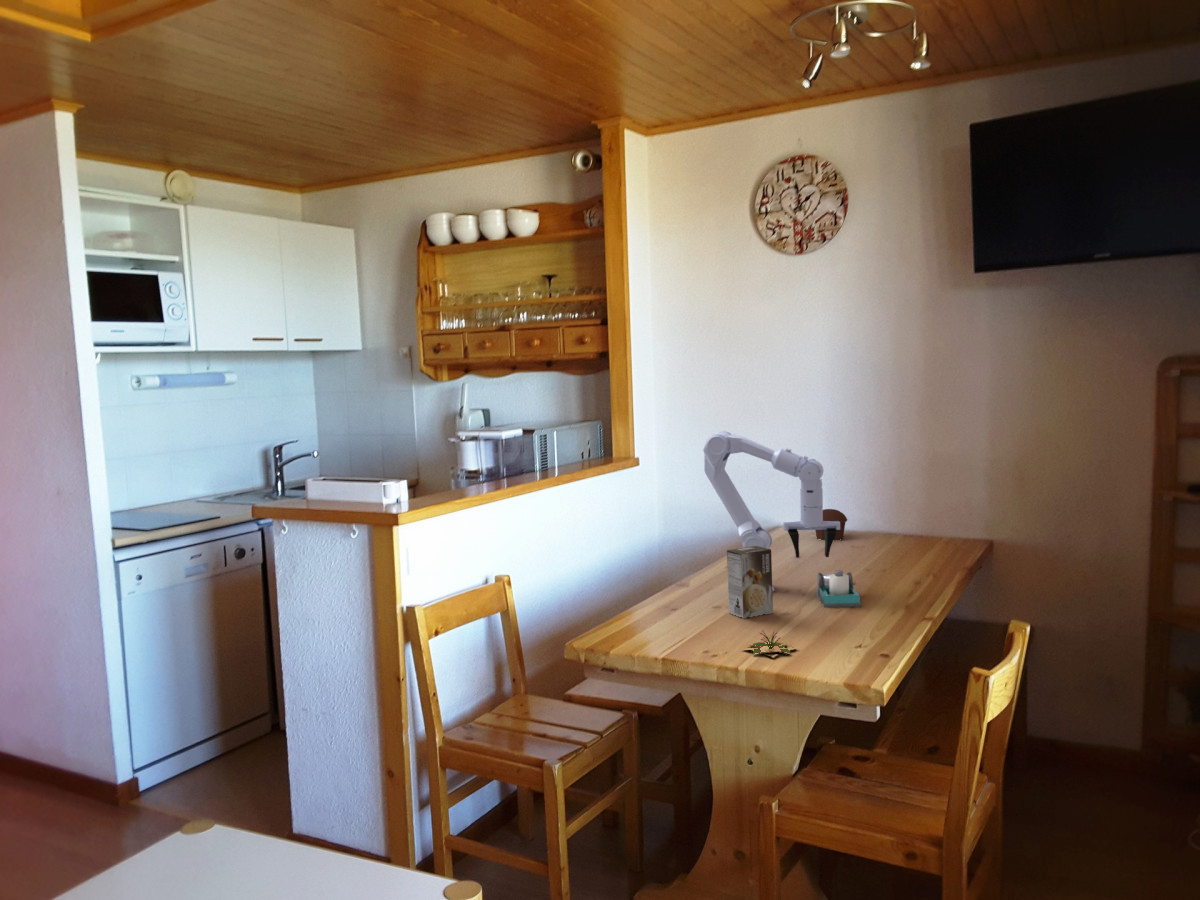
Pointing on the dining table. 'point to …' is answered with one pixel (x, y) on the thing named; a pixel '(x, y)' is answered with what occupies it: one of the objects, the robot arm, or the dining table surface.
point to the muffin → (833, 516)
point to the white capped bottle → (838, 583)
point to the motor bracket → (837, 599)
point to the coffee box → (750, 581)
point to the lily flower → (769, 644)
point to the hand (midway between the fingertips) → (812, 556)
